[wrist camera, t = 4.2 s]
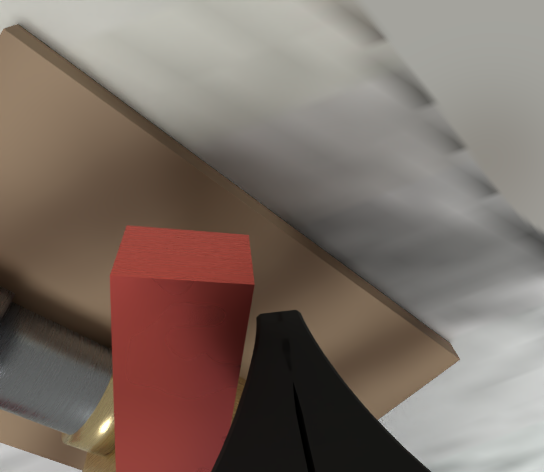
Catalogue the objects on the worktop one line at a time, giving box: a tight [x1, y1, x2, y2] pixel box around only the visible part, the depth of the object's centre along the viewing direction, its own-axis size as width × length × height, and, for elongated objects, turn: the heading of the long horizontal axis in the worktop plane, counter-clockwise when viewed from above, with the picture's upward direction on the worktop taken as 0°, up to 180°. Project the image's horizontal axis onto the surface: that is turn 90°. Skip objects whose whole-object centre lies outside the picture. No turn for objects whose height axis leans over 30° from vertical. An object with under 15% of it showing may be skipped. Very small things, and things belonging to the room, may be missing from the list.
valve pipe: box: [0, 286, 246, 472], centre depth 18 cm, size 18×5×5 cm, turn 48°
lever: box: [110, 225, 255, 472], centre depth 12 cm, size 13×3×2 cm, turn 171°
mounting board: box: [0, 24, 460, 470], centre depth 19 cm, size 21×16×1 cm
